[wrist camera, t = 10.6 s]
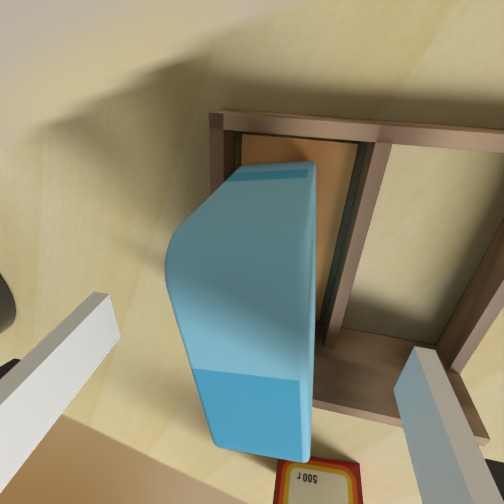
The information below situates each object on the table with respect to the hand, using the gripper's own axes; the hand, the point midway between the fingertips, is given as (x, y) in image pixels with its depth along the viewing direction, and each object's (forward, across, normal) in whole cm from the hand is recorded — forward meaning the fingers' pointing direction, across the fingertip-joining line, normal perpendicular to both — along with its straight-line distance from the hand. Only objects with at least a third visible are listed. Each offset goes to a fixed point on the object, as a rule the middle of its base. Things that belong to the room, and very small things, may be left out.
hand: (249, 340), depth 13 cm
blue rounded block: (+10, +1, 0) cm, 10 cm away
